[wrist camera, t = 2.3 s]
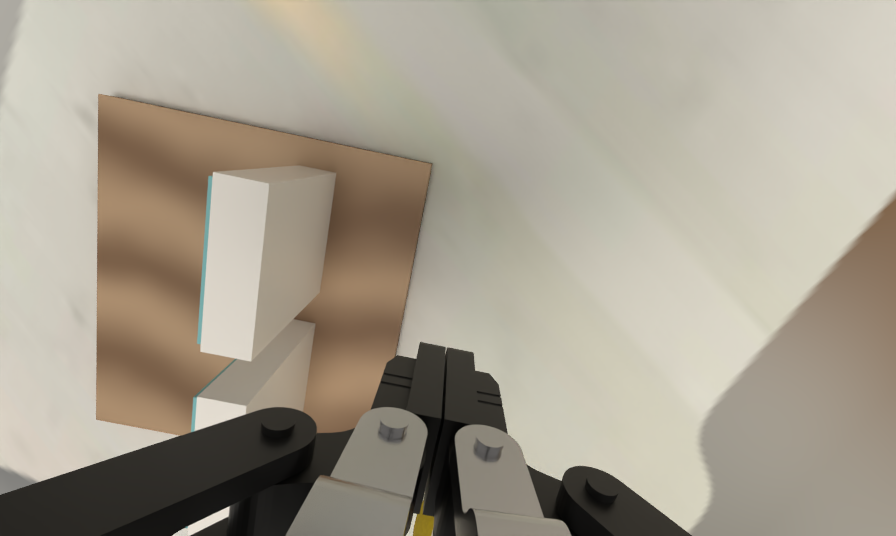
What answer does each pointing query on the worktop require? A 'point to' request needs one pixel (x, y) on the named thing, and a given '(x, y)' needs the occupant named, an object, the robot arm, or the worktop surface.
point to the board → (181, 256)
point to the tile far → (256, 387)
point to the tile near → (261, 254)
